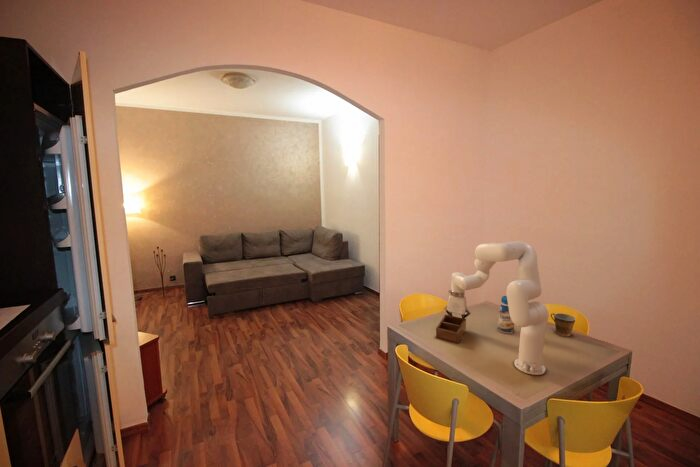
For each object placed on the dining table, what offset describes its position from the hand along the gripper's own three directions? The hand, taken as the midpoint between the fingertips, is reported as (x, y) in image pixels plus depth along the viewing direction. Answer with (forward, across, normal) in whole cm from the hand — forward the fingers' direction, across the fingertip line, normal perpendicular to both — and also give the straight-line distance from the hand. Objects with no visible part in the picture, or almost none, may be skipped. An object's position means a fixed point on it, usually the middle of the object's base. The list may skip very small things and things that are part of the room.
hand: (456, 322), depth 188 cm
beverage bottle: (+4, +25, +12) cm, 28 cm away
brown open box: (+1, 0, -18) cm, 18 cm away
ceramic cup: (+4, +51, +27) cm, 58 cm away
